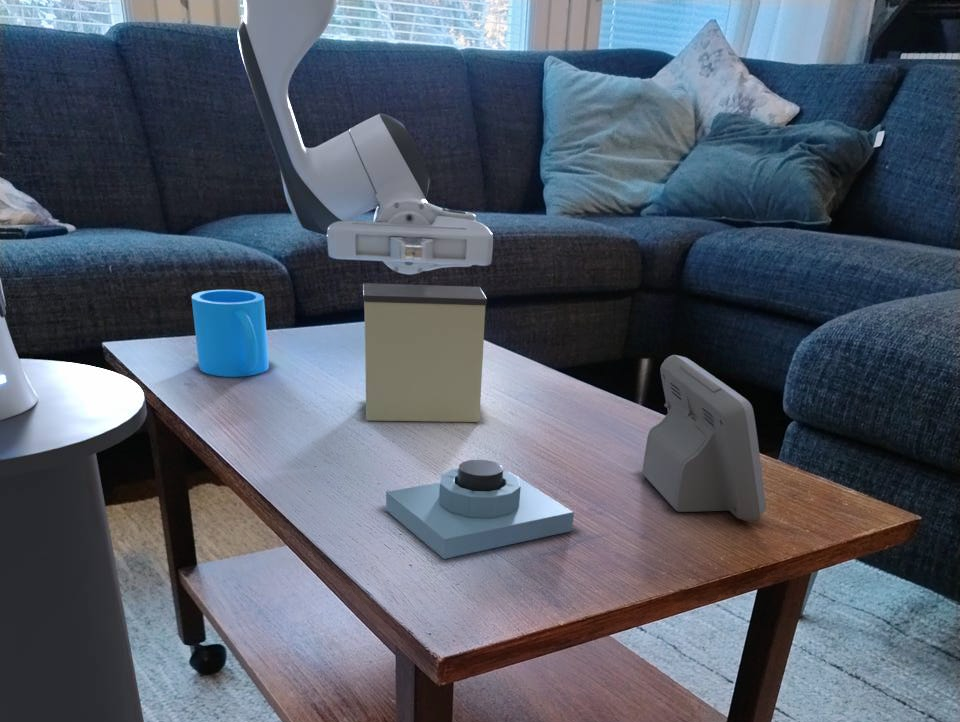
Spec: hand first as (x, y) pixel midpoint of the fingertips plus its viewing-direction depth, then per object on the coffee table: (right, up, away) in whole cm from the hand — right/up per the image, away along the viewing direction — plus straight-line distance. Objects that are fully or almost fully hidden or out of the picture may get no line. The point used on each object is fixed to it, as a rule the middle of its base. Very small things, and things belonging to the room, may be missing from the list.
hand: (413, 253), depth 105 cm
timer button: (+8, -33, -32) cm, 47 cm away
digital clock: (+28, -32, -23) cm, 48 cm away
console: (+1, -20, -7) cm, 22 cm away
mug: (-21, -13, +3) cm, 25 cm away
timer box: (+8, -35, -31) cm, 47 cm away
